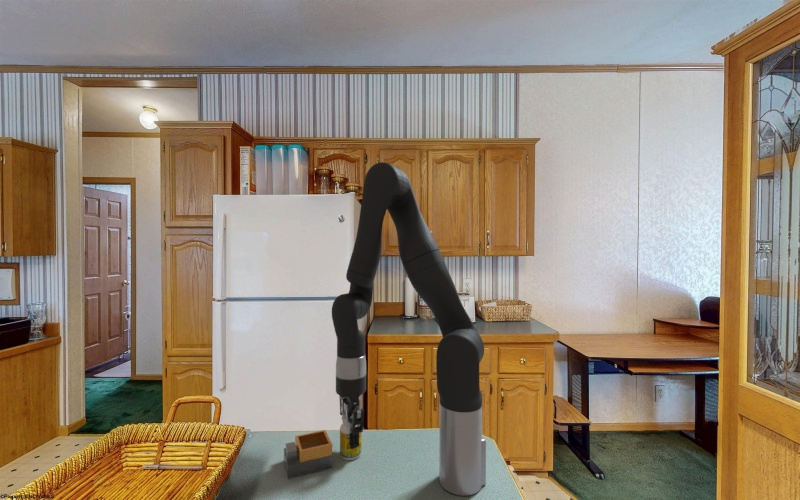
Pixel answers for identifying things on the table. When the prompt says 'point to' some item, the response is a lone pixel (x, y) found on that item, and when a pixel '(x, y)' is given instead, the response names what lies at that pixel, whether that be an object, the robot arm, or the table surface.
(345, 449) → the supplement bottle
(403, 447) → the table surface
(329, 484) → the table surface
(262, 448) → the table surface
